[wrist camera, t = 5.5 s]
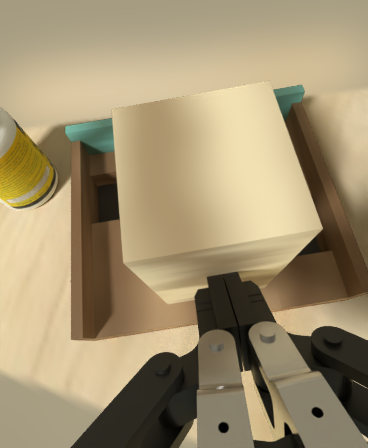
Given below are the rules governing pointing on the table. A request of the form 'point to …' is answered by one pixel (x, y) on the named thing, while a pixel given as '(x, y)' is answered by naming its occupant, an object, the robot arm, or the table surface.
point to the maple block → (209, 190)
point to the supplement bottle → (23, 168)
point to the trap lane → (186, 311)
